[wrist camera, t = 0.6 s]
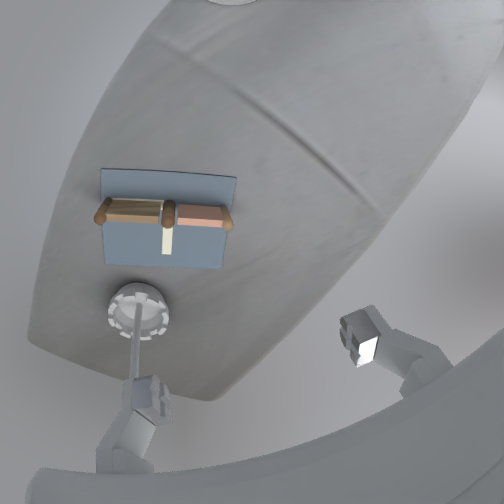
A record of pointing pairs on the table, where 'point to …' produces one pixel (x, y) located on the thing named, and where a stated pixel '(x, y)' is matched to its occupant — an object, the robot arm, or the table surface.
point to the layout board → (154, 235)
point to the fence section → (204, 216)
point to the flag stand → (138, 316)
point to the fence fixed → (136, 212)
